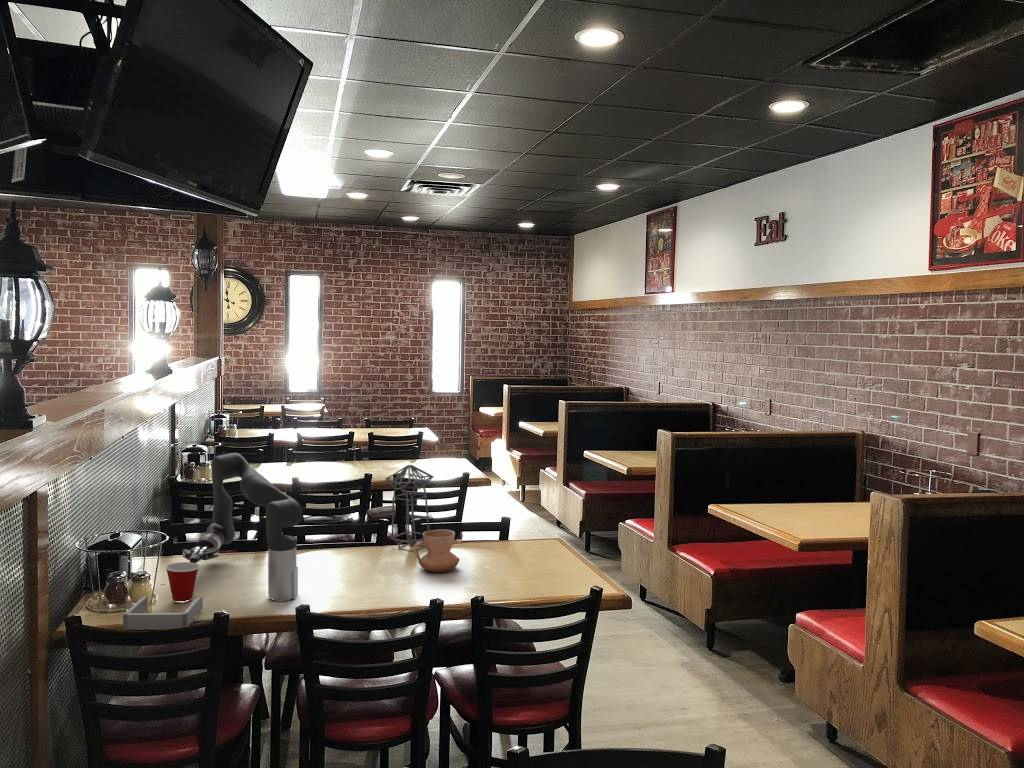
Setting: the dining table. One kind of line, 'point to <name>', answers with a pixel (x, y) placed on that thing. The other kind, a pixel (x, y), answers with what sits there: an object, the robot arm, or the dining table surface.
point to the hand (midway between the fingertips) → (192, 560)
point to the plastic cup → (182, 579)
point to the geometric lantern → (402, 474)
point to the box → (159, 616)
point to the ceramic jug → (438, 551)
